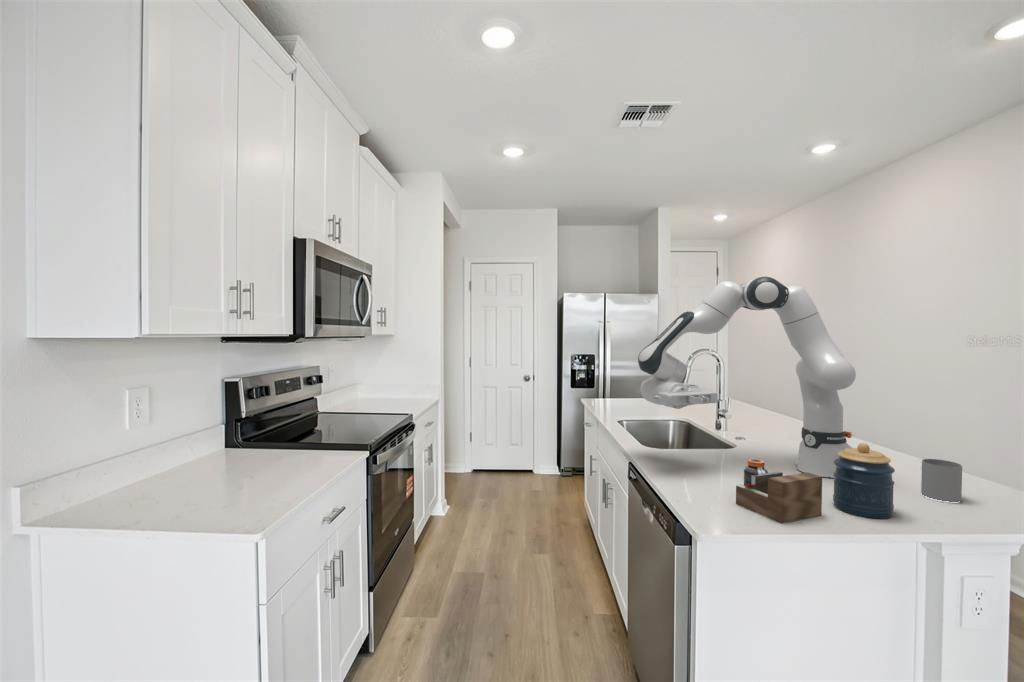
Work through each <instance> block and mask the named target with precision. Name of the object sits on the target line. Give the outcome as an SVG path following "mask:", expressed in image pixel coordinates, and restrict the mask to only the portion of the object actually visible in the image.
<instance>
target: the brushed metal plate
mask: <svg viewBox="0 0 1024 682" xmlns="http://www.w3.org/2000/svg"><path fill="white" fill-rule="evenodd" d="M783 474H784V473H783V472H782V471H773V472H768V473H765V474H758V475H752V478H751V485H745V488H753V489H755V490H758V491H760V492H763V493H765V494H768V478H772V477H779V476H784V475H783Z"/></svg>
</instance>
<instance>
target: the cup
mask: <svg viewBox="0 0 1024 682" xmlns="http://www.w3.org/2000/svg"><path fill="white" fill-rule="evenodd" d="M920 481H921V483H920V484H921V485H920V486H921V490H920V492H921V493H922V495H924V496H927V497H929V498H933V499H937V500H942V501H949V502H959V501H961V502H962V497H963V495H962V492H963V491H962V490H963V489H962V487H963V465H962V464H960V463H957V462H954V461H951V460H950V461H949V460H945V459H944V460H943V459H938V458H937V459H936V458H923V459H922V460H921V480H920ZM921 493H920V494H921ZM922 495H921V496H922Z"/></svg>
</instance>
